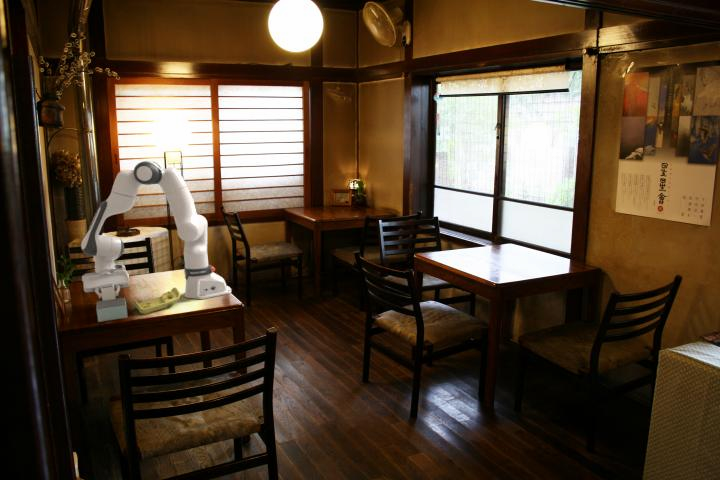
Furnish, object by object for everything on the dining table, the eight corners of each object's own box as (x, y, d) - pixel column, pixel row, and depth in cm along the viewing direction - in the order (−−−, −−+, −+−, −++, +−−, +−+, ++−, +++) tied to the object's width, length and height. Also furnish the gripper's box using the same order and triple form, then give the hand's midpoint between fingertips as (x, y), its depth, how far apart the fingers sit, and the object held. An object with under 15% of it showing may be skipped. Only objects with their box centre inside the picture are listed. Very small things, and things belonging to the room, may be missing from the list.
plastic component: (141, 310, 264) (132, 297, 270) (141, 322, 268) (132, 309, 274) (183, 297, 276) (174, 285, 282) (183, 309, 280) (173, 296, 286)
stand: (126, 309, 273) (125, 297, 272) (127, 317, 263) (126, 304, 261) (98, 314, 269) (96, 301, 268) (98, 321, 258) (96, 308, 257)
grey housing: (116, 304, 281) (113, 282, 279) (116, 307, 276) (113, 285, 273) (103, 306, 279) (100, 284, 276) (103, 309, 273) (100, 287, 271)
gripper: (80, 270, 275) (83, 296, 269) (127, 264, 284) (131, 289, 277) (82, 277, 280) (84, 303, 274) (128, 271, 288) (132, 296, 282)
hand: (108, 296), depth 275 cm, fingers closed on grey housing, 5 cm apart
